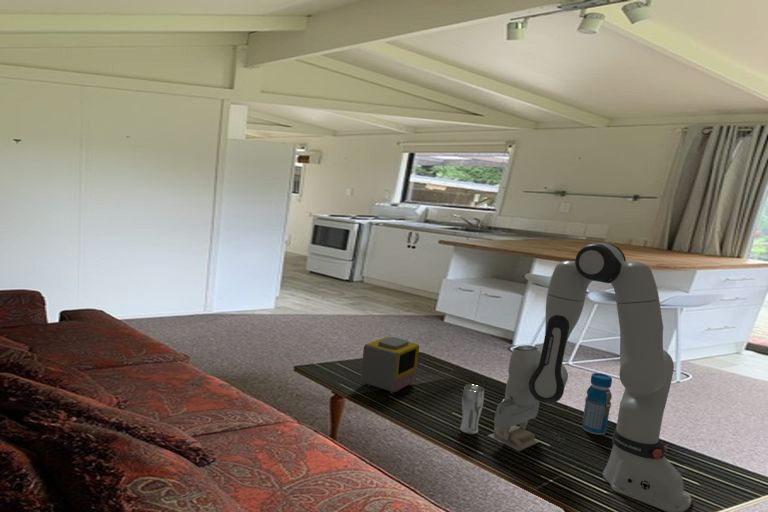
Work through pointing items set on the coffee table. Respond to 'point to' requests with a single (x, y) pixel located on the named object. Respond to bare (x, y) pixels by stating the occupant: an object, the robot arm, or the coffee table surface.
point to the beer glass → (471, 408)
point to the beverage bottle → (597, 404)
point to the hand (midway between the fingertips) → (513, 435)
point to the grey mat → (510, 442)
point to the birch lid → (517, 436)
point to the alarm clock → (389, 363)
